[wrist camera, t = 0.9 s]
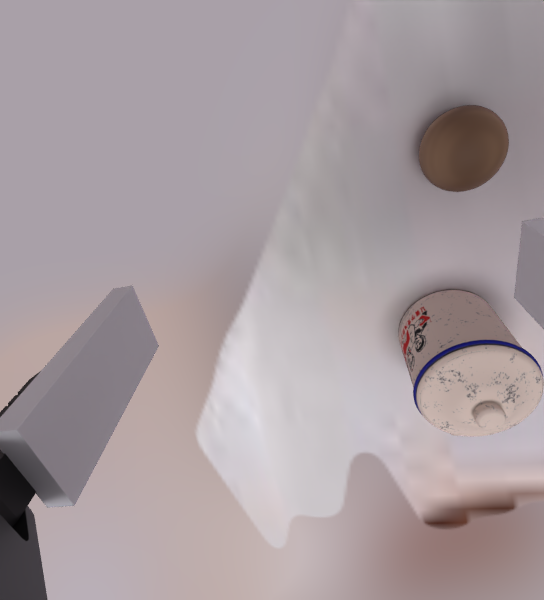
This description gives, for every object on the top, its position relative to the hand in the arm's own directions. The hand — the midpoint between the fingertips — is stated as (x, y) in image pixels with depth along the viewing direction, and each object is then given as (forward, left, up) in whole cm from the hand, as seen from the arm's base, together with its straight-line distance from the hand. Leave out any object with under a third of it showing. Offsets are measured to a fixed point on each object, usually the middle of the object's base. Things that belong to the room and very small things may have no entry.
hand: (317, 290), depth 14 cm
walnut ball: (-10, 0, -18) cm, 20 cm away
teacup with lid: (-10, +18, -20) cm, 29 cm away
